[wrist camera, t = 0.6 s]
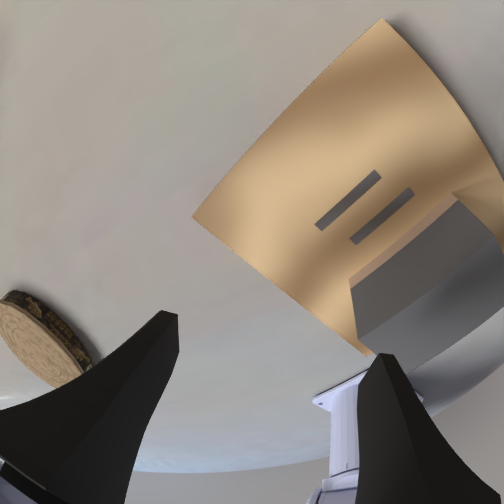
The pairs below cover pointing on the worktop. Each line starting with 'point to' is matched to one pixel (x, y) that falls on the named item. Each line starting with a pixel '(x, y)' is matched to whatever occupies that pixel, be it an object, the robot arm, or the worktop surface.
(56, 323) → the wood log slice
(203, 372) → the worktop surface
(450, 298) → the block
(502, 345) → the worktop surface
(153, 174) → the worktop surface
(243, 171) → the oak board
